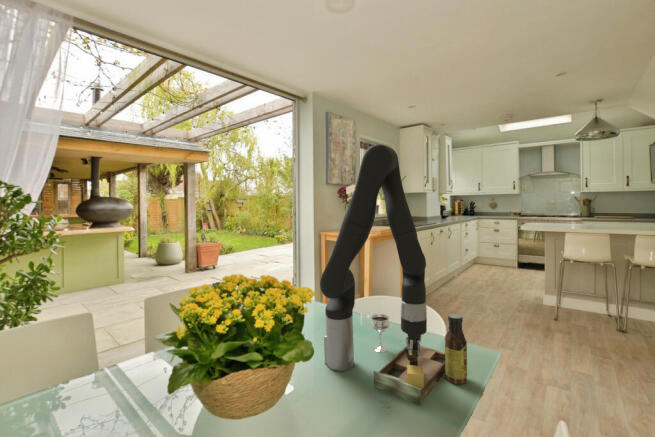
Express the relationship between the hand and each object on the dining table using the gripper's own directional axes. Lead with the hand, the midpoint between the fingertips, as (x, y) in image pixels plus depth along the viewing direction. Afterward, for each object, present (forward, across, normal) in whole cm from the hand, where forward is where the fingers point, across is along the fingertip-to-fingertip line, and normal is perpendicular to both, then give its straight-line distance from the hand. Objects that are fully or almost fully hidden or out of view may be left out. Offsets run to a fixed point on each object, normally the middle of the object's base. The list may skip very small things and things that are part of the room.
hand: (413, 370), depth 93 cm
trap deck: (+4, -5, 0) cm, 6 cm away
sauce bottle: (+4, -6, +12) cm, 14 cm away
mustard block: (+2, +5, +1) cm, 5 cm away
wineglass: (+4, -16, -15) cm, 22 cm away
